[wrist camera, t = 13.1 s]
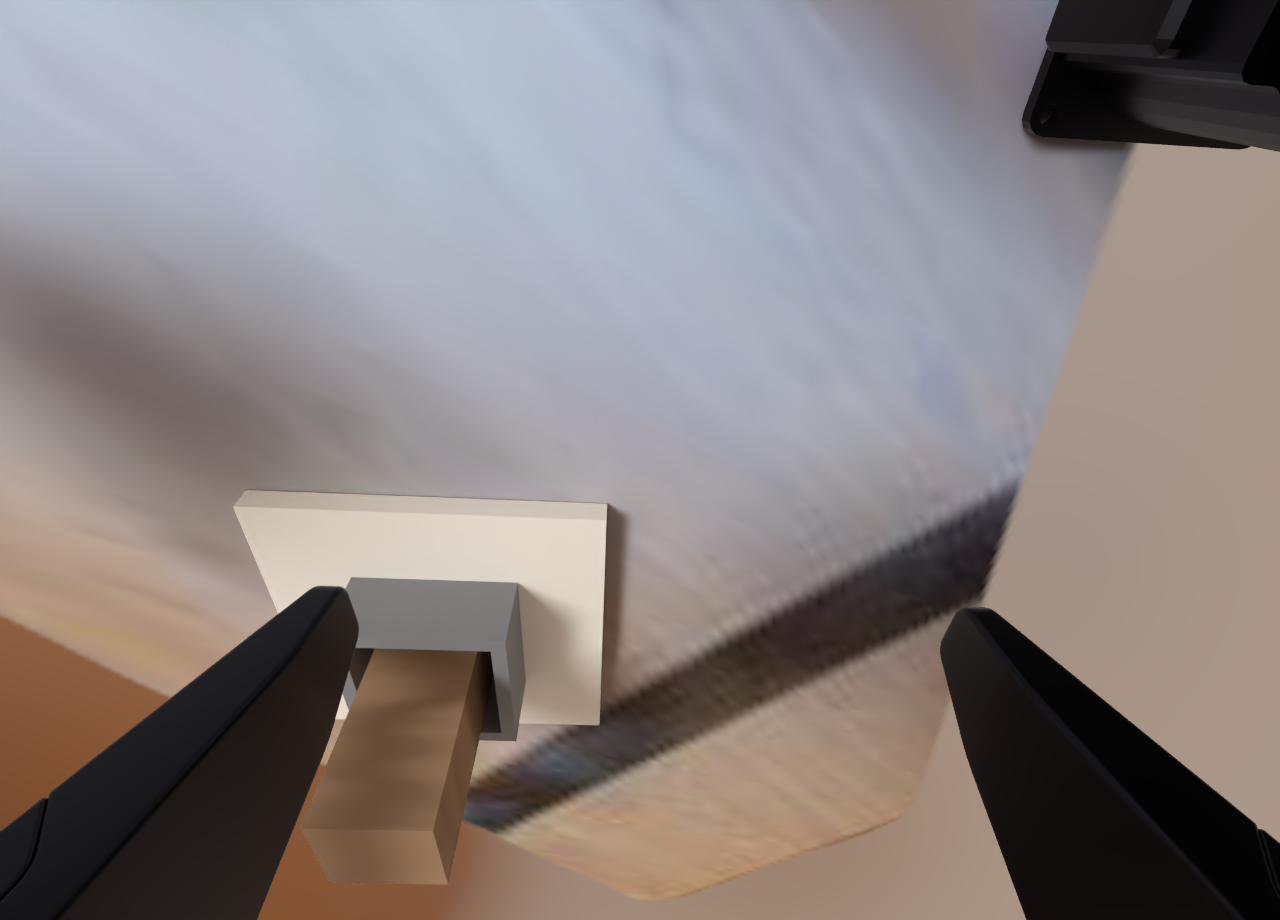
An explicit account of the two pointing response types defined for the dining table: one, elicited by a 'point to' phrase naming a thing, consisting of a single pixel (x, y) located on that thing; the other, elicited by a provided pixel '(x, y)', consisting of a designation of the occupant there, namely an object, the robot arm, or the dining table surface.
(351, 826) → the wooden peg
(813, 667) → the dining table surface
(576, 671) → the thin cream square plate
